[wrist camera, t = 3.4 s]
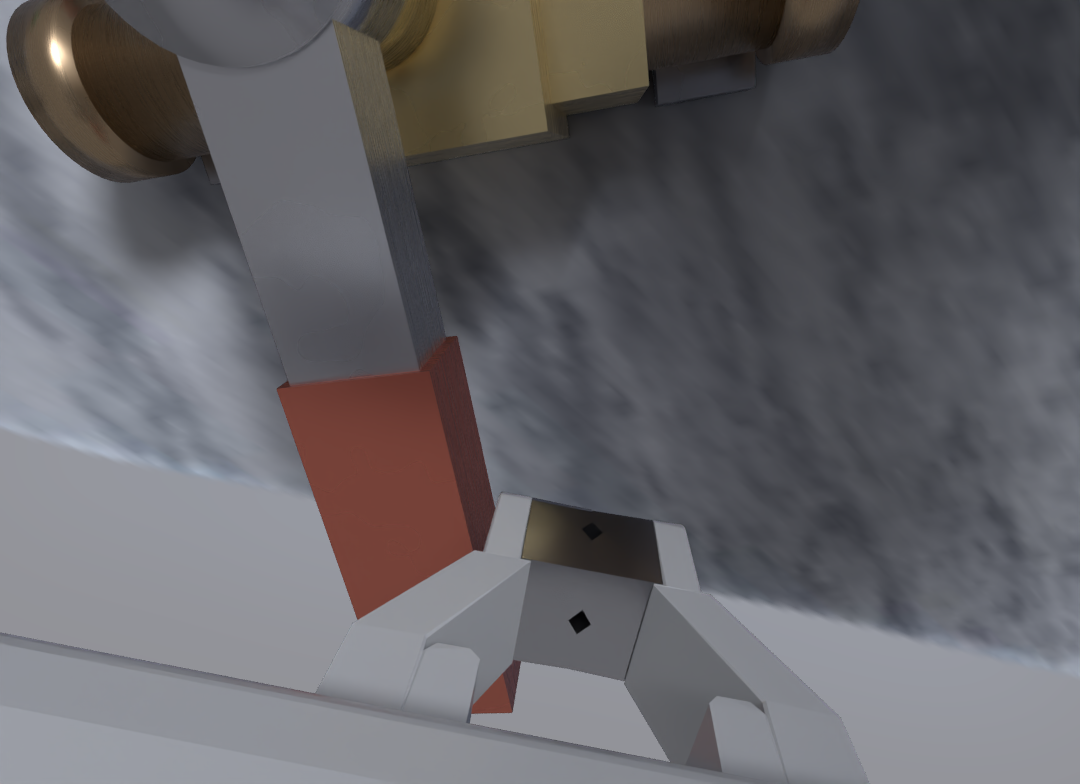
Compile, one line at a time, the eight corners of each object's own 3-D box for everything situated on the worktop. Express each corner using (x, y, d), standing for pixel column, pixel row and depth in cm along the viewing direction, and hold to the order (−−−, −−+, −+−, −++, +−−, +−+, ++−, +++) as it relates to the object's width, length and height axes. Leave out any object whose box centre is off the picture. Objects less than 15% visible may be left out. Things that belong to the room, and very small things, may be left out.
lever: (99, -219, 9) (-37, -319, 7) (373, -305, 8) (304, -439, 6) (387, 646, 15) (357, 716, 13) (555, 640, 14) (548, 712, 12)
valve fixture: (795, -172, 17) (1094, -676, 6) (794, 98, 19) (1006, 41, 9) (124, -8, 20) (-367, -170, 10) (200, 202, 23) (-129, 245, 12)
